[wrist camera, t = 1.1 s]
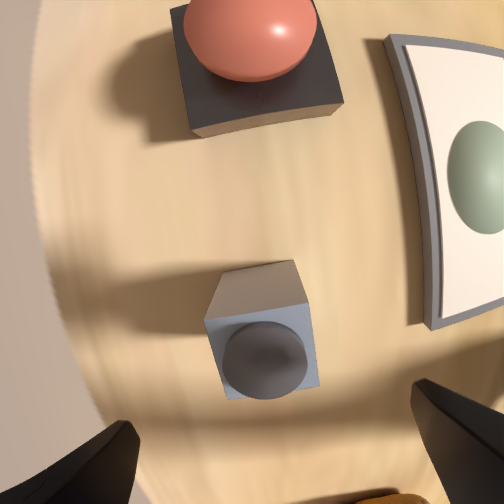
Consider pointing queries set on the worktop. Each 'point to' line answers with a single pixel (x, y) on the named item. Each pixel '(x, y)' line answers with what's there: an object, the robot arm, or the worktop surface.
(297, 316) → the grey rectangular block
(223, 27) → the button
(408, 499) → the potato
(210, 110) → the button housing
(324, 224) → the worktop surface
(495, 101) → the drawing board
